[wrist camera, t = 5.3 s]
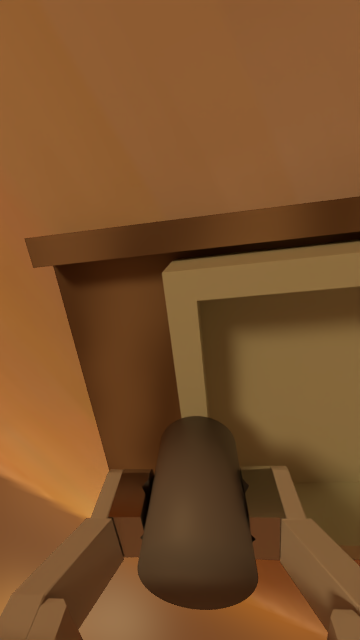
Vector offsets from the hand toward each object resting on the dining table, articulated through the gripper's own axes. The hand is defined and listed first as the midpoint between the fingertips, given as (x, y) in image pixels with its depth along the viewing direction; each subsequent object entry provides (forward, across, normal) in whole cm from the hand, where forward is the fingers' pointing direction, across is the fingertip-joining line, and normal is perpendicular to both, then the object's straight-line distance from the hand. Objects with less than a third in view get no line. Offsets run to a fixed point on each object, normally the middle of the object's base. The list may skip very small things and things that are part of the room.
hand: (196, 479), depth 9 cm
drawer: (+5, -6, 0) cm, 8 cm away
